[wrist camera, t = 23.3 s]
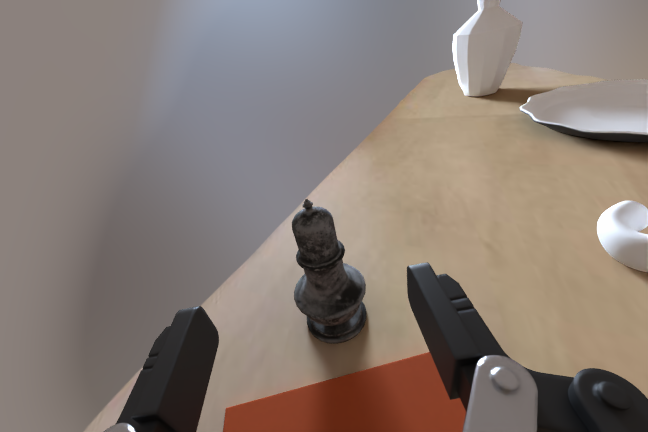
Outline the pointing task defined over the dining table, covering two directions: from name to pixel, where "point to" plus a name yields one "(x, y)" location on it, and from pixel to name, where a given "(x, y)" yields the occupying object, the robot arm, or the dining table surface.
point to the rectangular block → (358, 403)
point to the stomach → (625, 234)
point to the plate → (595, 110)
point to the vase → (485, 48)
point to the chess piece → (326, 279)
